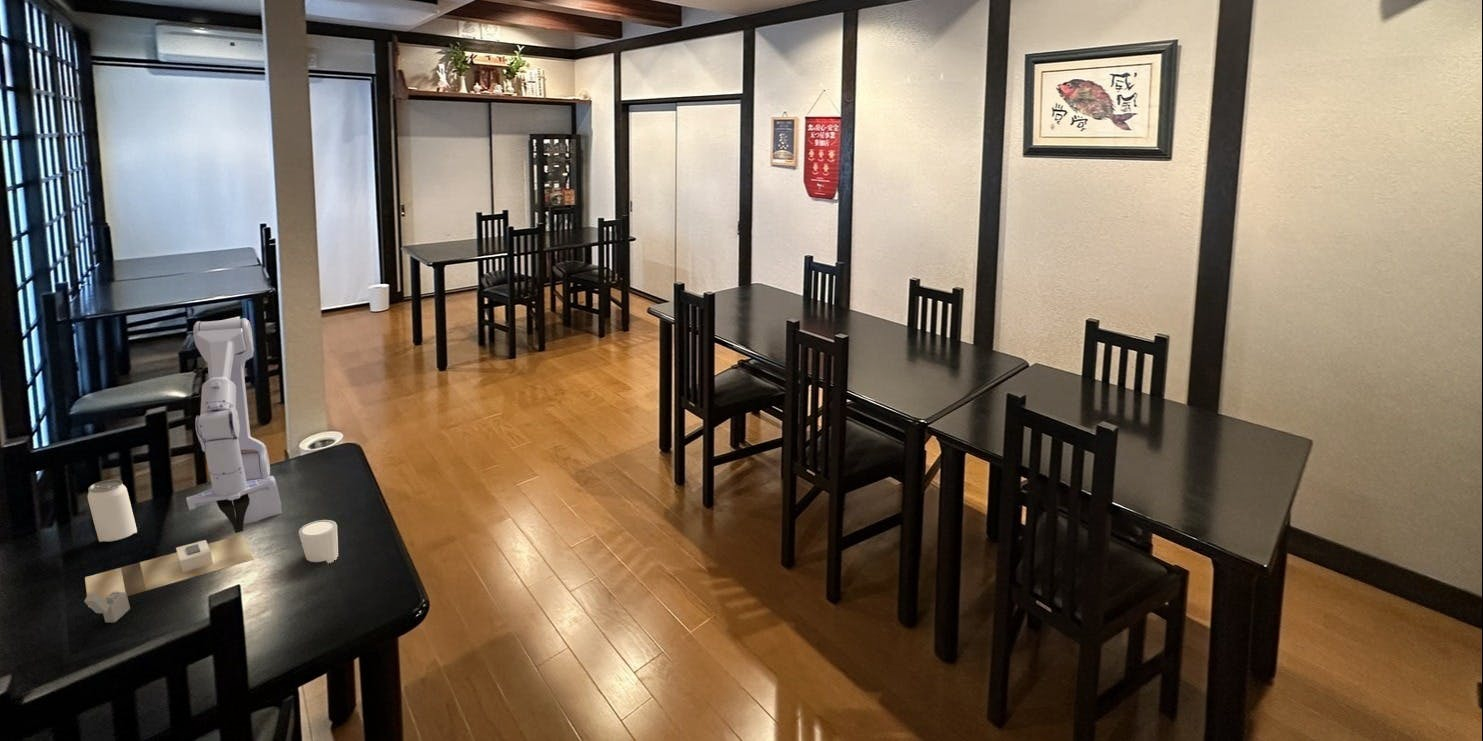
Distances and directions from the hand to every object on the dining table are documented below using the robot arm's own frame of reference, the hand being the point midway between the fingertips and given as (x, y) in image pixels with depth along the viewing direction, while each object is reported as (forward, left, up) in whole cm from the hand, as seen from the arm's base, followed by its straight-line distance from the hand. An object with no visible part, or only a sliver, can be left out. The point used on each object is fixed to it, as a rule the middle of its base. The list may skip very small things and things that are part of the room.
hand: (238, 530), depth 162 cm
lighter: (+22, +13, -5) cm, 26 cm away
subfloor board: (+12, 0, -5) cm, 13 cm away
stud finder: (+8, 0, -4) cm, 9 cm away
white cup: (-12, +12, -5) cm, 18 cm away
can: (+19, -22, -5) cm, 30 cm away
